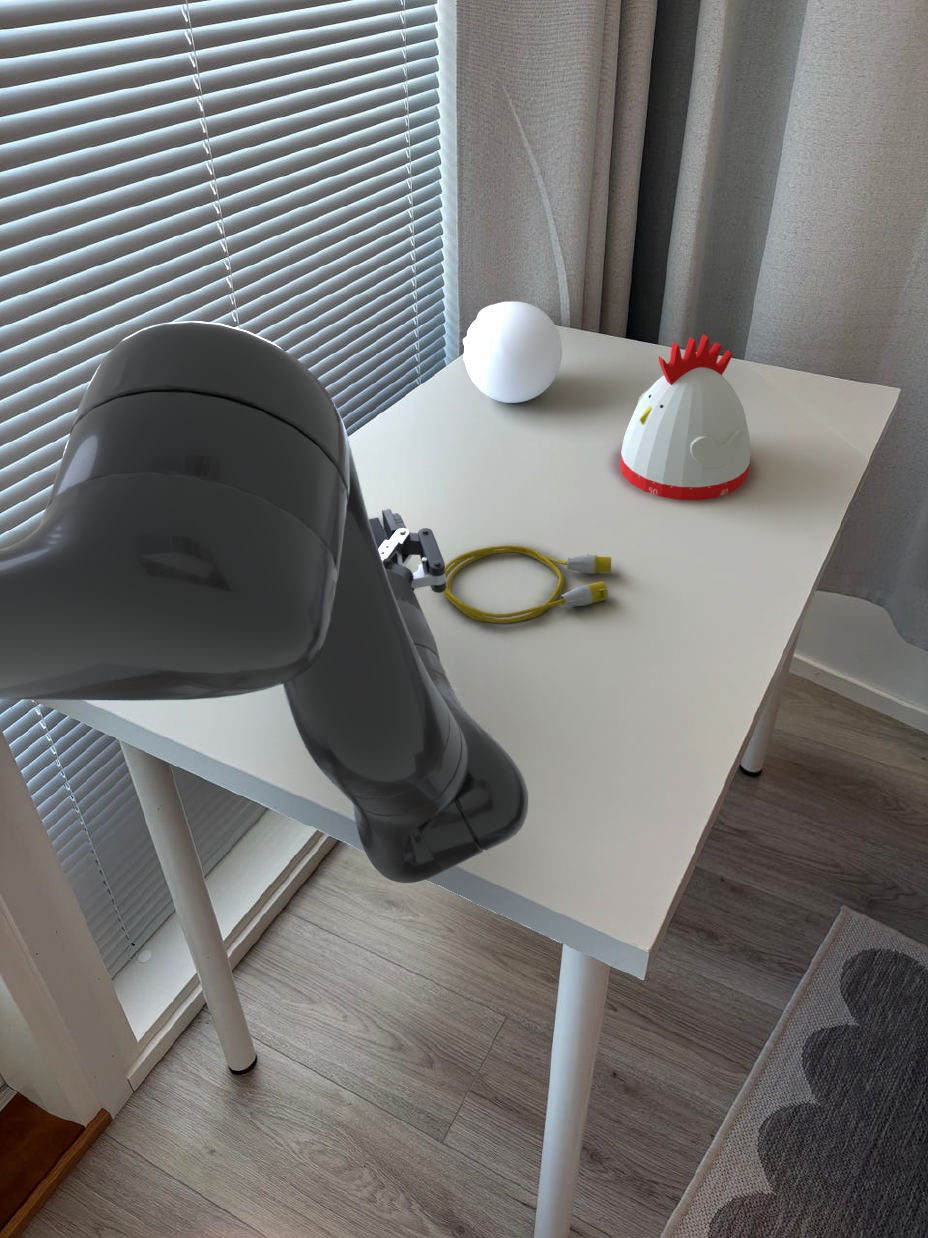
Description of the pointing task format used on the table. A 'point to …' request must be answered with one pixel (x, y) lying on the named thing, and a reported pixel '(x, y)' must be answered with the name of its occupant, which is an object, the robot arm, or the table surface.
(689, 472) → the kitchen timer
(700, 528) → the table surface
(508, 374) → the decorative ball
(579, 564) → the yellow coiled cord
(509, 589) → the table surface
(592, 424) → the table surface
